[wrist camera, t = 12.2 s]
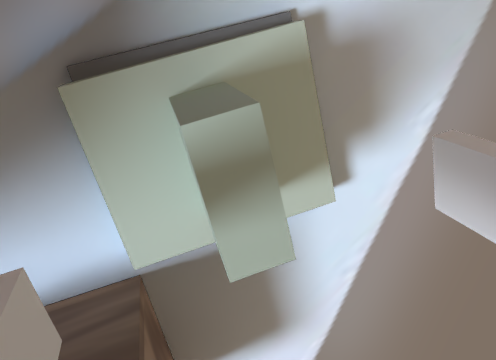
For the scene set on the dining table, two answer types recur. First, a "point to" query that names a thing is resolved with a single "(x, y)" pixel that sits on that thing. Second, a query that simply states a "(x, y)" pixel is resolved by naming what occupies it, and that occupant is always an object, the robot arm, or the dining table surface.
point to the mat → (172, 47)
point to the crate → (109, 324)
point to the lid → (208, 148)
